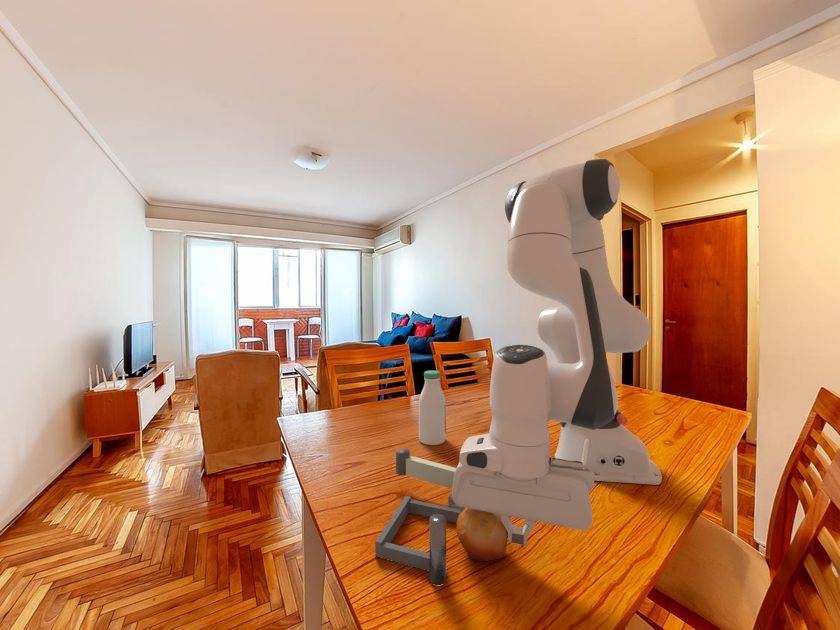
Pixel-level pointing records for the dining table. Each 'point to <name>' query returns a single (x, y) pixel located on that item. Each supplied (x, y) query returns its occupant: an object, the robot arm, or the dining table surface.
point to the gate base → (452, 504)
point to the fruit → (482, 534)
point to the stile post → (437, 549)
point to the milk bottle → (432, 411)
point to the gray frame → (392, 527)
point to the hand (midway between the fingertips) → (517, 541)
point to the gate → (423, 469)
